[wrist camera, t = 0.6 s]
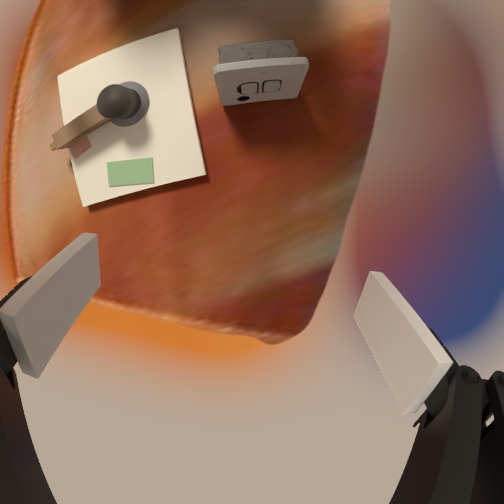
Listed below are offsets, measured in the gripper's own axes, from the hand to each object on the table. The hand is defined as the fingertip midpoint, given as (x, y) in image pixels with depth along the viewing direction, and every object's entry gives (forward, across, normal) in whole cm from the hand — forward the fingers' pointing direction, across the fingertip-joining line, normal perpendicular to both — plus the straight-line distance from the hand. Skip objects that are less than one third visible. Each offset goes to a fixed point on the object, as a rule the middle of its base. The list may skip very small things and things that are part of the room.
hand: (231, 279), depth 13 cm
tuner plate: (+25, -16, +7) cm, 30 cm away
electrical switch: (+26, 0, +13) cm, 29 cm away
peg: (+24, -19, +6) cm, 31 cm away
